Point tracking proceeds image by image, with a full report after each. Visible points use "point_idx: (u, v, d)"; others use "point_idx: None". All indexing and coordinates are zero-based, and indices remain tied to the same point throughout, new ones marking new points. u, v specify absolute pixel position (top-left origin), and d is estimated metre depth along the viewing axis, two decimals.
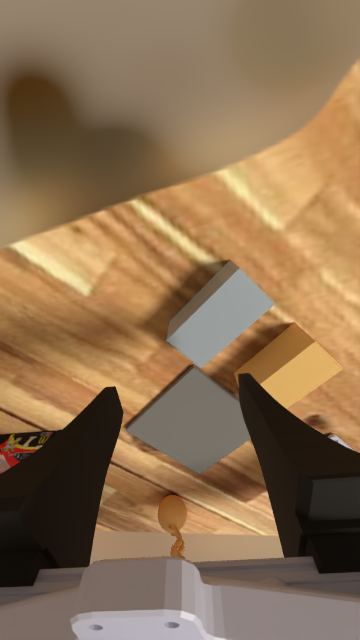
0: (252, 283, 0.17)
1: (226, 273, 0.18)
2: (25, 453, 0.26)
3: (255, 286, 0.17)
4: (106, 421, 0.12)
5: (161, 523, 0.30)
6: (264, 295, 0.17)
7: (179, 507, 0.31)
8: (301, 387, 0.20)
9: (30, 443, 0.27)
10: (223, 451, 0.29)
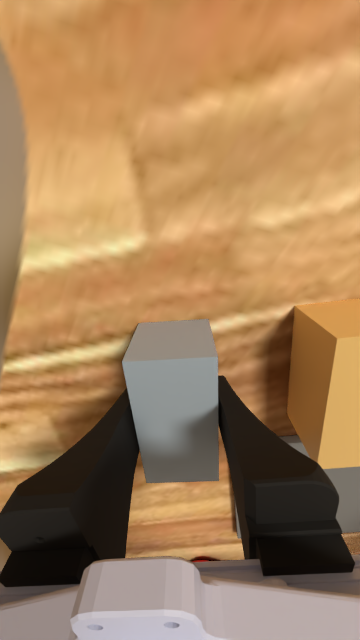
0: (158, 362, 0.10)
1: None
2: None
3: (166, 362, 0.10)
4: None
5: None
6: (190, 360, 0.10)
7: None
8: None
9: None
10: None
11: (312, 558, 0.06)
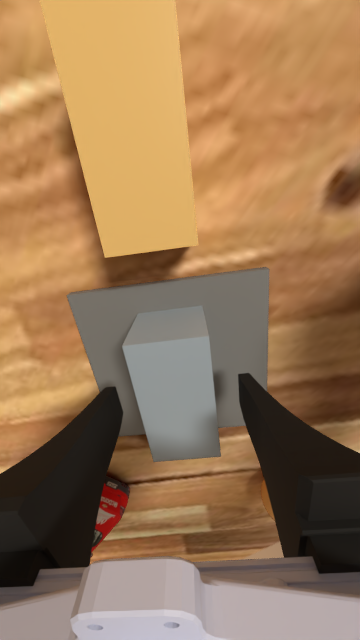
0: (155, 344, 0.10)
1: None
2: None
3: (162, 344, 0.10)
4: (106, 421, 0.12)
5: None
6: (184, 341, 0.10)
7: None
8: (157, 116, 0.08)
9: None
10: (255, 368, 0.16)
11: None
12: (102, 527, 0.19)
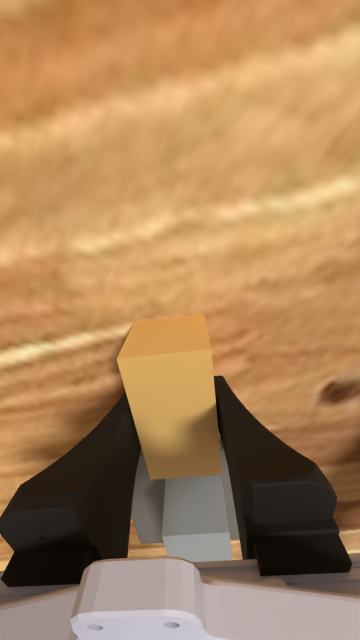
0: (187, 535, 0.14)
1: None
2: None
3: (193, 535, 0.14)
4: None
5: None
6: (210, 534, 0.13)
7: None
8: (196, 416, 0.11)
9: None
10: None
11: (309, 558, 0.06)
12: None
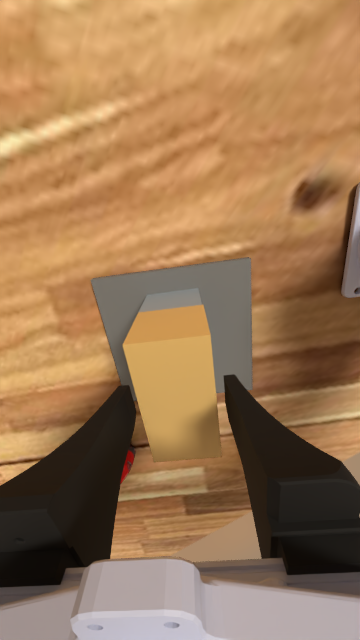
0: None
1: None
2: None
3: None
4: (121, 420, 0.12)
5: None
6: None
7: None
8: (196, 399, 0.12)
9: None
10: (242, 341, 0.19)
11: (337, 557, 0.06)
12: None
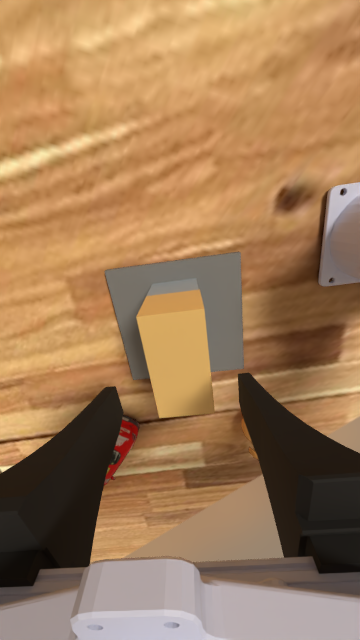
0: None
1: None
2: None
3: None
4: (106, 421, 0.12)
5: (251, 441, 0.25)
6: None
7: None
8: (194, 362, 0.15)
9: None
10: (234, 324, 0.22)
11: None
12: (120, 448, 0.26)
